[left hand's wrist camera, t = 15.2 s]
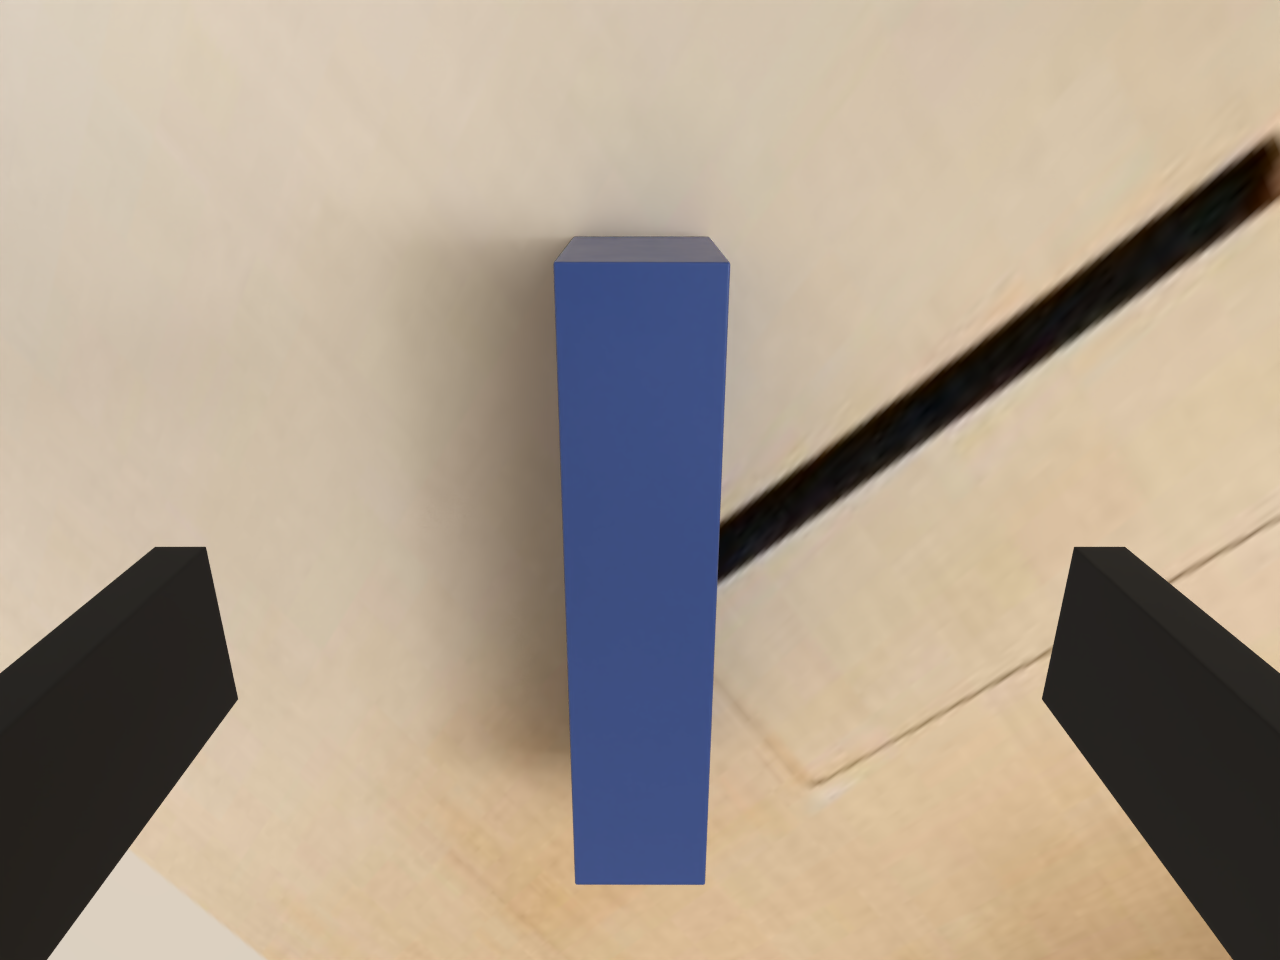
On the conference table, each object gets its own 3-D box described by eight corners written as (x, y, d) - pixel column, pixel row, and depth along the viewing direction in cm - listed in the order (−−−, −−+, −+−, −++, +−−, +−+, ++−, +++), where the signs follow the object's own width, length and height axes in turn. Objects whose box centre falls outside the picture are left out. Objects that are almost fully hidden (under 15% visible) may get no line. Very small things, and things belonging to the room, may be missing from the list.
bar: (573, 236, 34) (553, 261, 26) (709, 236, 34) (730, 262, 26) (586, 753, 43) (574, 885, 35) (693, 753, 43) (704, 885, 35)
